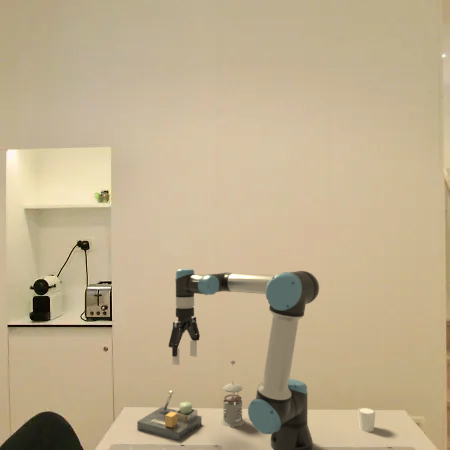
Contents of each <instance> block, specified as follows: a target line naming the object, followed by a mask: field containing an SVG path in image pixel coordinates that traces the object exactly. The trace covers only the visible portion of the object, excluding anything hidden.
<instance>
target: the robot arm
mask: <svg viewBox="0 0 450 450" xmlns="http://www.w3.org/2000/svg"><path fill="white" fill-rule="evenodd" d="M319 284H320V283H319V281H318V279H317V278H316V276H315V275H314V274H312V273H311V272H308V271H305V270H299V271H298V270H297V271H285V272H281V273H278V274H265V273H264V274H263V273H258V274H256V273H232V272H221V273H211V274H195V269H194V270H193V269H191V268H179V269H177V270H176V271H175V306H176V308H175V317H176V318H177V321H173V322H172V328H171V329H172V330H171V334H170V339H169V342H168V348H170V349H171V348H172V349H171V351H172V352H171V353H172V354H171V356H172V365H175V366H179V365H180V347H179V345H180V342H181V340H182V337H183V334H184V333H185V331H187V333H188V335H189V337H190V340H189V356H190V357H194V358H195V357H197V355H198V352H197V348H198V347H197V346H198V342H197V341H200V337H201V336H200V332H199V328H198V324H197V323H198V322H197V317H196V316H195V307H194V306H195V294H197V295H198V294H199V295H205V296H210V295H211V296H212V295H215V294H216V293H219V292H220V293H221V292H227V293H228V292H229V293H231V292H232V293H233V292H235V293H244V294H258V295H265V298H266V300H267V302H268V304H269V308H268V310H269V312H270V313H271V314H272V320H271V327H270V332H269V333H270V334H269V339H268V347H267V352H266V358H265V359H266V360H265V365H264V371H263V378H262V379H263V380H262V382H260V383H259V384H258V385H257V387H256V388H257V389H256V395H255V398H253V400H251V401H250V403H249V404H248V408H247V409H248V410H247V412H248V418H249V422H251V424H252V426H253V428H255V429H256V430H257V432H260V433H261V434H264V435H270V446H271V448H272V449H273V450H313V445H314V444H313V437H312V434H311V432H310V429H309V425H308V394H309V393H308V386H307V384H306V383H305V382H304V381H302V380H298V379H294V378H290V375H291V370H292V363H293V357H294V351H295V350H294V349H295V345H296V337H297V331H298V327H299V326H298V325H299V320H301V318H303V317H305V310H306V305H308V304H311V303H312V302H313V301H315V299H316V298H317V297H318V295H319V292H320V285H319Z"/></svg>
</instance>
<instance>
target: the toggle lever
mask: <svg viewBox="0 0 450 450" xmlns="http://www.w3.org/2000/svg"><path fill="white" fill-rule="evenodd" d="M167 394H168V397H167V399H166V401H165V404H164V406H163V407H164V409H163V410H164V411H166V409H167V408H168V407H169V404H170V401H171V399H172V398H173V397H174V395H175V392H174V390H169V392H168V393H167Z"/></svg>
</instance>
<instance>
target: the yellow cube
mask: <svg viewBox="0 0 450 450" xmlns="http://www.w3.org/2000/svg"><path fill="white" fill-rule="evenodd" d="M176 424H178V413H175V412H170V413H168V414H167V415H165V426H167V427H171V428H172V427H173V426H175V425H176Z"/></svg>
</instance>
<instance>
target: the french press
mask: <svg viewBox="0 0 450 450" xmlns="http://www.w3.org/2000/svg"><path fill="white" fill-rule="evenodd" d="M230 364H232V365H234V364H236V361H235V360H231V361H230ZM222 389H223V390H224V392H227V393H231V394H226V395H225V396H224V397H223V399H224V400H223V402H222V405H223V412H222V413H223V417H222V419H221V420H220V423H221V424H222V425H224V426H225V427H230V428H233V427H234V428H236V427H240V426H242V425H244V424H245V420H244V418H243V400H242V396H240V394H235V393H239V392H241V391H242V390H243V386H242V385H240V384H239V383H237V382H236V383H235V382H231V383H227V384H225V385H224V386H222Z"/></svg>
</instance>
